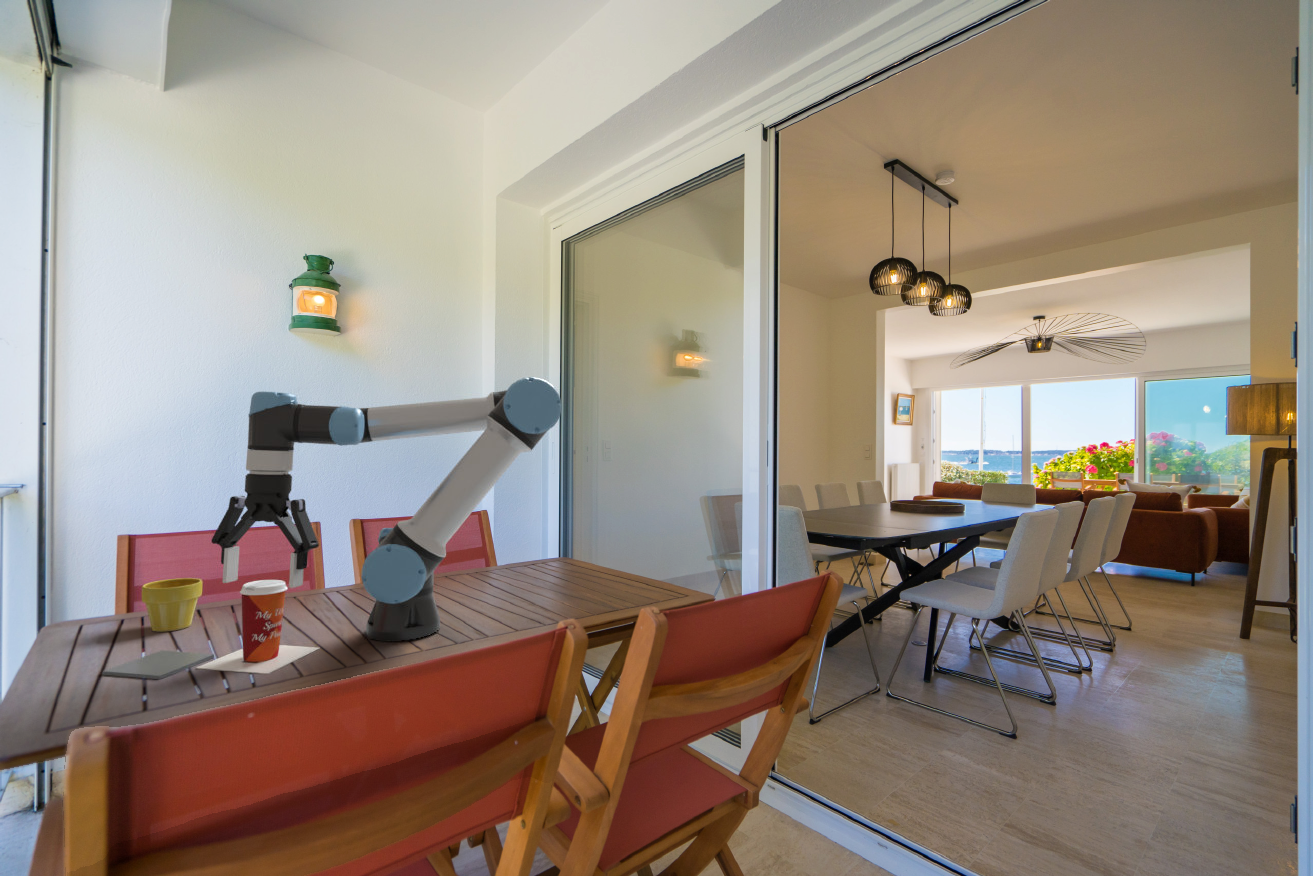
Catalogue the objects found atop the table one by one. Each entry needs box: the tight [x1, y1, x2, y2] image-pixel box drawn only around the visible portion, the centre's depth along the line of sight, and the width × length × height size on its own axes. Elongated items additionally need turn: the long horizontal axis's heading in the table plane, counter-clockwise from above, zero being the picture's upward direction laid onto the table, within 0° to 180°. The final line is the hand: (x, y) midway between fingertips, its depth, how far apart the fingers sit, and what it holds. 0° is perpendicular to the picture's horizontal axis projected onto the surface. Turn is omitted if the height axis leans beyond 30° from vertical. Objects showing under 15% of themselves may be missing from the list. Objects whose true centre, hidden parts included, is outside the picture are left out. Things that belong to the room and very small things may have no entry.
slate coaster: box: [102, 650, 215, 680], centre depth 109 cm, size 11×11×1 cm
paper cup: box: [239, 579, 289, 662], centre depth 115 cm, size 8×8×14 cm
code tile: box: [195, 644, 321, 675], centre depth 114 cm, size 14×14×1 cm
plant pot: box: [141, 577, 203, 633], centre depth 131 cm, size 10×10×10 cm
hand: (262, 584), depth 115 cm, fingers open, 13 cm apart
